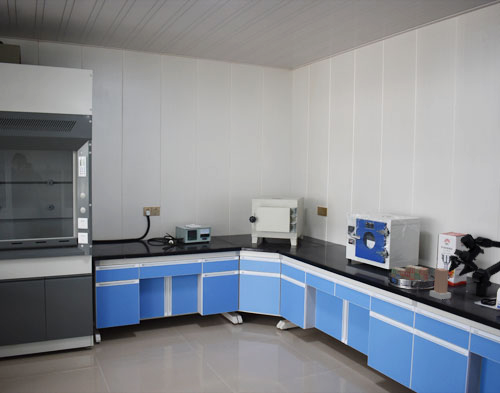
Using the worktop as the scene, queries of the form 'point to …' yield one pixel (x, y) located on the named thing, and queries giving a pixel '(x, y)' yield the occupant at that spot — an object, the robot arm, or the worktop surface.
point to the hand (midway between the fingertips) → (453, 273)
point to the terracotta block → (441, 280)
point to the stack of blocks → (410, 273)
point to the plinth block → (440, 295)
